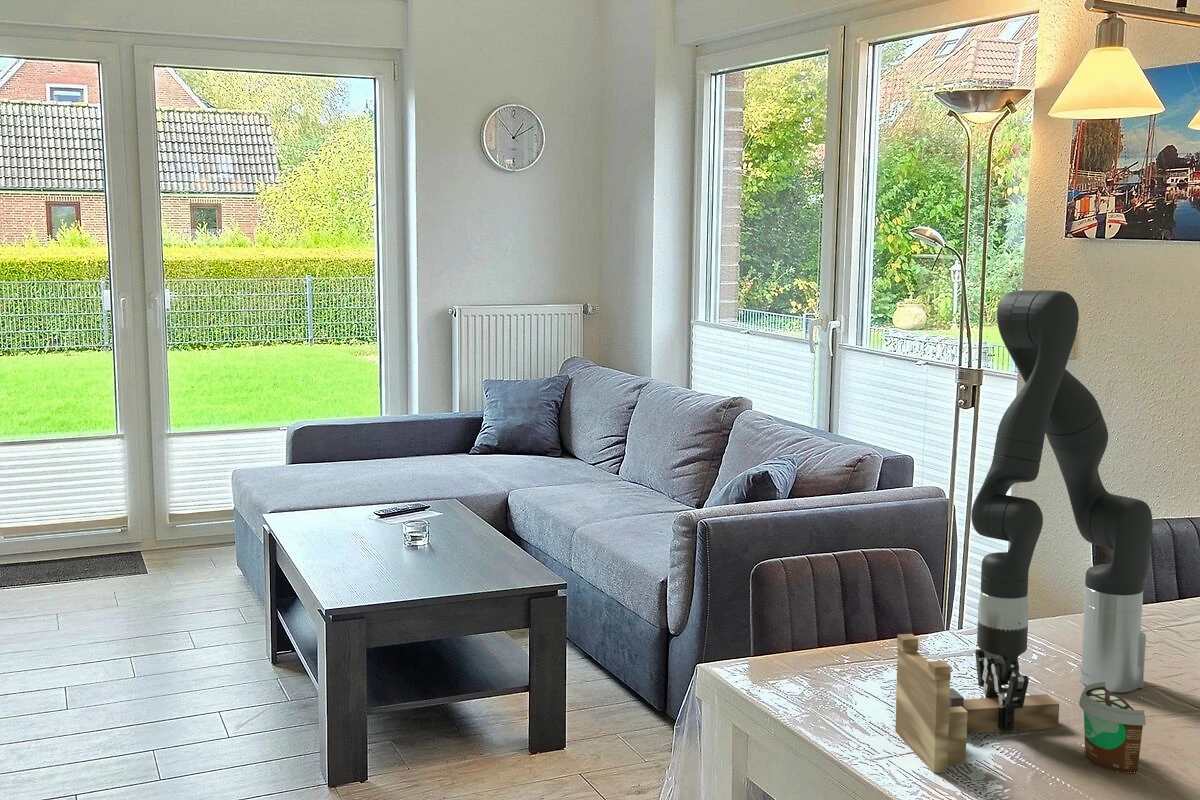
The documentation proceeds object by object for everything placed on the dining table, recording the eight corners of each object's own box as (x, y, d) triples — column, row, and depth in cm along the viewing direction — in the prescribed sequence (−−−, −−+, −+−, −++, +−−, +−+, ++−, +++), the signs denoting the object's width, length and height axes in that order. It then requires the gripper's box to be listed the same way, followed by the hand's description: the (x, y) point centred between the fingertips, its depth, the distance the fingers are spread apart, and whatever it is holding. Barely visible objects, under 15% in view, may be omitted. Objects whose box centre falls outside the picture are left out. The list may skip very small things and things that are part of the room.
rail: (1045, 717, 195) (1047, 682, 194) (1058, 727, 191) (1059, 691, 190) (939, 724, 193) (940, 688, 192) (950, 734, 189) (951, 698, 188)
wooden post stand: (931, 728, 191) (934, 631, 189) (973, 770, 176) (976, 665, 174) (894, 731, 190) (896, 633, 188) (932, 773, 176) (935, 668, 173)
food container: (1061, 743, 185) (1064, 681, 184) (1100, 742, 186) (1103, 680, 184) (1101, 779, 173) (1105, 713, 172) (1142, 777, 174) (1146, 711, 172)
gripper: (1047, 633, 183) (1043, 740, 185) (1004, 605, 197) (1000, 705, 199) (1001, 636, 182) (997, 743, 184) (960, 607, 196) (957, 707, 198)
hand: (998, 723), depth 192 cm, fingers open, 4 cm apart
